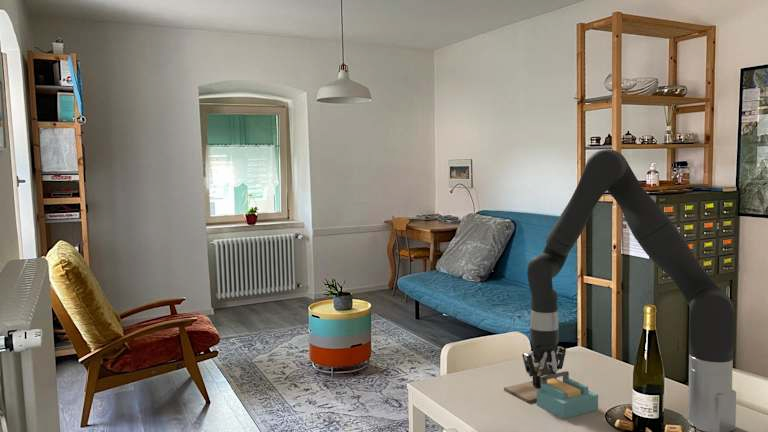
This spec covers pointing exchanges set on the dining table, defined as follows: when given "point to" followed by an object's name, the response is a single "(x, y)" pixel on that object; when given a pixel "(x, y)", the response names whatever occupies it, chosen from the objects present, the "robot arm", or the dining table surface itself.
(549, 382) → the ticket card
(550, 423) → the dining table surface
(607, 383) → the dining table surface
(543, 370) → the phone
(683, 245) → the robot arm
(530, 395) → the walnut mat
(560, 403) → the ticket dispenser
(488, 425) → the dining table surface
